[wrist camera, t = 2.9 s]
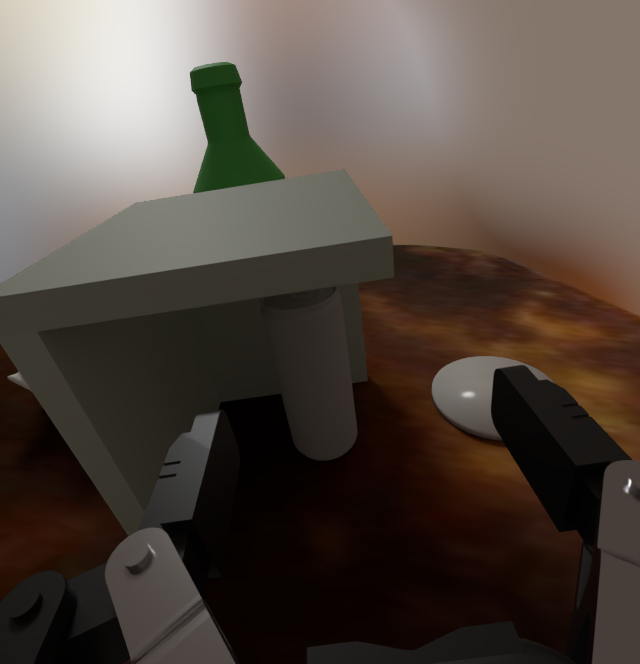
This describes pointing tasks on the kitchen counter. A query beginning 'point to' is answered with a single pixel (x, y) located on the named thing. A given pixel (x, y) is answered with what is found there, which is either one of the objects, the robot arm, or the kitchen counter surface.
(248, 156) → the bottle
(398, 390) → the kitchen counter surface
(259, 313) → the shelf housing
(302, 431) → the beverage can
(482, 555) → the kitchen counter surface
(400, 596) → the kitchen counter surface
